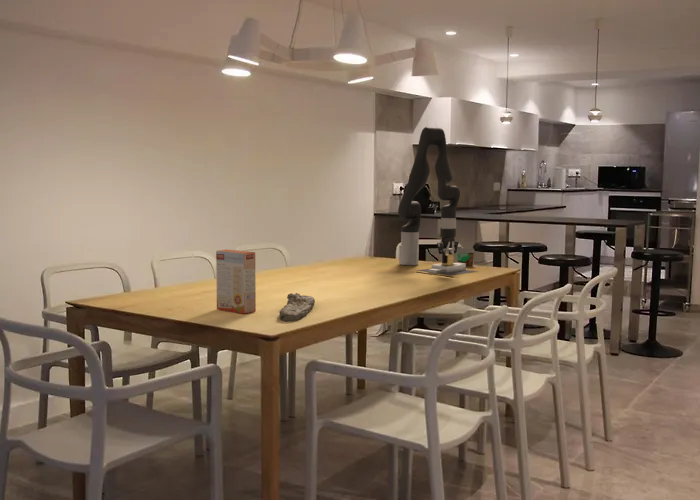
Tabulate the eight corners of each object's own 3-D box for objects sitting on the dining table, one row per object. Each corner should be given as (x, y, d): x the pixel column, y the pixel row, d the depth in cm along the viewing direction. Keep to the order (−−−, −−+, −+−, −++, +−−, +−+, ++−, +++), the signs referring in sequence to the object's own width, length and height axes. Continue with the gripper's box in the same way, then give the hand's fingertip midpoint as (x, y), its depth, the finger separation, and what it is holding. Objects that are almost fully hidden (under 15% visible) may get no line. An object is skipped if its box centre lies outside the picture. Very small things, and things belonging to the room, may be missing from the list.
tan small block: (441, 264, 350) (441, 254, 349) (447, 264, 352) (447, 253, 352) (448, 265, 347) (448, 255, 346) (453, 264, 349) (453, 254, 349)
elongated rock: (272, 325, 234) (302, 328, 233) (272, 309, 233) (303, 312, 232) (292, 301, 269) (318, 303, 268) (292, 287, 268) (319, 289, 267)
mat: (416, 272, 351) (416, 270, 351) (443, 268, 365) (443, 267, 365) (451, 277, 335) (451, 275, 335) (478, 273, 349) (478, 271, 349)
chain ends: (424, 271, 346) (424, 265, 346) (454, 268, 361) (454, 262, 360) (439, 274, 339) (439, 267, 339) (469, 270, 354) (469, 263, 354)
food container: (450, 265, 378) (451, 246, 377) (460, 265, 380) (461, 246, 379) (463, 268, 367) (464, 249, 366) (474, 268, 369) (474, 248, 368)
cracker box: (256, 312, 249) (256, 251, 247) (243, 314, 244) (243, 253, 242) (229, 307, 258) (228, 248, 255) (216, 309, 253) (215, 250, 251)
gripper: (451, 226, 355) (450, 261, 357) (432, 227, 346) (431, 263, 347) (463, 227, 350) (462, 262, 351) (444, 228, 340) (443, 264, 342)
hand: (447, 262), depth 349 cm, fingers closed on tan small block, 4 cm apart
